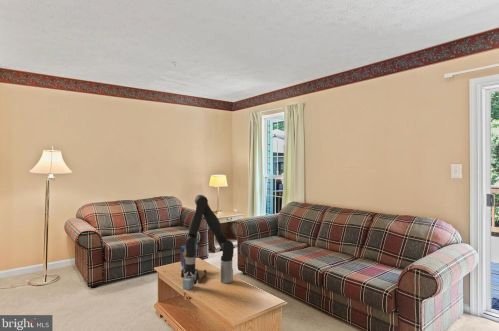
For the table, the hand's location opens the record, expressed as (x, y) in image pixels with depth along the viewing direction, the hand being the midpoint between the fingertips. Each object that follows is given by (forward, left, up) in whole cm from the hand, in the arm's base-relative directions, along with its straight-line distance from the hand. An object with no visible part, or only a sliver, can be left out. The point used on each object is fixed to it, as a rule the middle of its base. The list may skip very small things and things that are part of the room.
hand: (190, 283), depth 233 cm
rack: (0, -14, -2) cm, 14 cm away
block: (0, +2, -2) cm, 3 cm away
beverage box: (+16, -30, -2) cm, 34 cm away
